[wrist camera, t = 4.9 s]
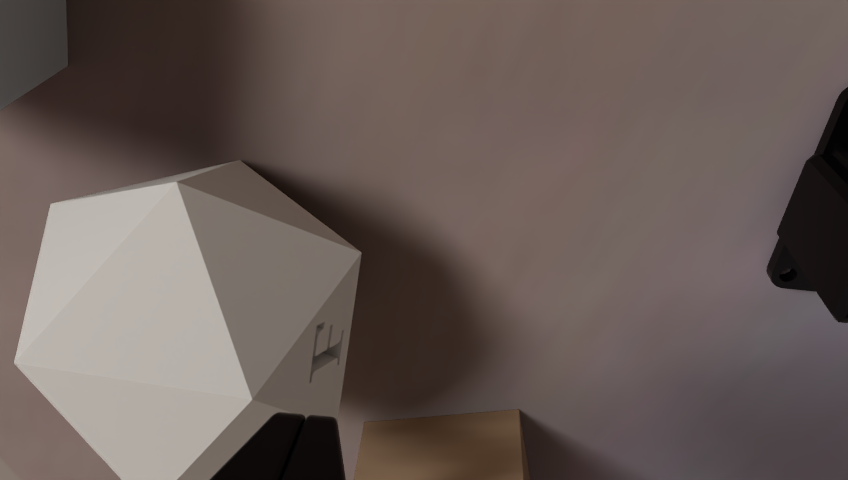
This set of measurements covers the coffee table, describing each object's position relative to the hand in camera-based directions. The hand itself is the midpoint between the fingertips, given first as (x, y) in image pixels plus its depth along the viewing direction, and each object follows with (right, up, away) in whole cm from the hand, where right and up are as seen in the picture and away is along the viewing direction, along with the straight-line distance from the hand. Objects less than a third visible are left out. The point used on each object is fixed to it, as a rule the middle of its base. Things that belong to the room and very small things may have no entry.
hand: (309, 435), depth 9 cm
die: (-4, +3, +14) cm, 14 cm away
